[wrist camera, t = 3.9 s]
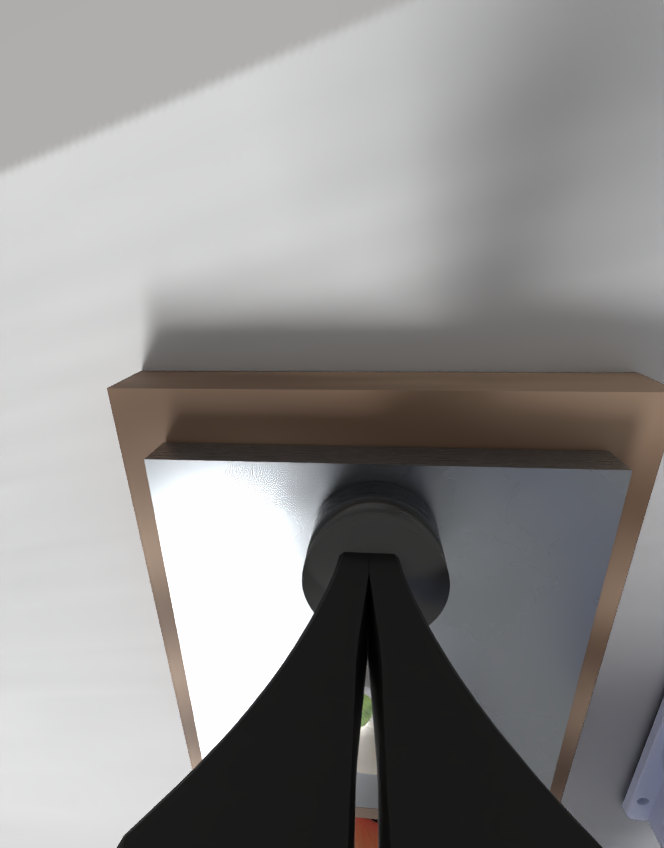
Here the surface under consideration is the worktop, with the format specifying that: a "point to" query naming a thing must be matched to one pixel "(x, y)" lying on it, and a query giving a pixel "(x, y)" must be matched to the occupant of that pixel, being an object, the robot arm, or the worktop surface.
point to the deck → (486, 550)
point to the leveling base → (397, 427)
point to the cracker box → (366, 833)
